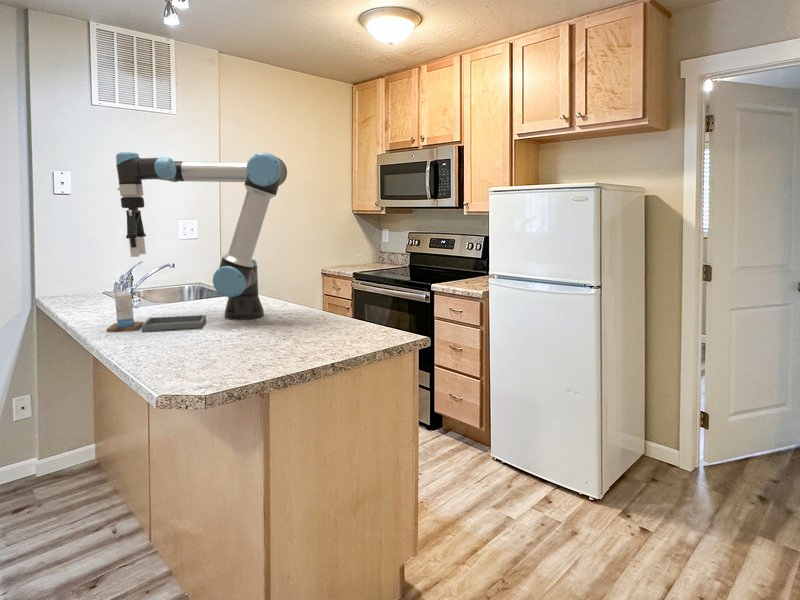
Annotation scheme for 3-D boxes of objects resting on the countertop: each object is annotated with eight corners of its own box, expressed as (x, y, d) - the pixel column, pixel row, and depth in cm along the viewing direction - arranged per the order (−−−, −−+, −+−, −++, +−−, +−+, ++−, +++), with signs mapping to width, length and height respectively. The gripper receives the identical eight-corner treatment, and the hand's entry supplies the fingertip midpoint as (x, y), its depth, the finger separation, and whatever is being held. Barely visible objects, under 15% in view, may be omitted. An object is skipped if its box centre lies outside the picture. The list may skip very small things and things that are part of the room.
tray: (206, 321, 204) (205, 315, 203) (202, 329, 190) (201, 322, 190) (150, 324, 199) (149, 317, 199) (141, 332, 186) (141, 325, 185)
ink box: (134, 326, 190) (131, 285, 187) (119, 328, 187) (115, 286, 185) (132, 322, 197) (128, 283, 194) (116, 323, 194) (113, 284, 192)
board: (143, 324, 198) (143, 321, 198) (137, 330, 188) (137, 327, 188) (114, 326, 196) (114, 323, 195) (106, 332, 186) (106, 328, 186)
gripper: (127, 198, 202) (133, 253, 206) (112, 195, 179) (120, 258, 182) (148, 197, 204) (154, 252, 208) (137, 195, 181) (144, 257, 184)
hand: (138, 255), depth 195 cm, fingers open, 13 cm apart
